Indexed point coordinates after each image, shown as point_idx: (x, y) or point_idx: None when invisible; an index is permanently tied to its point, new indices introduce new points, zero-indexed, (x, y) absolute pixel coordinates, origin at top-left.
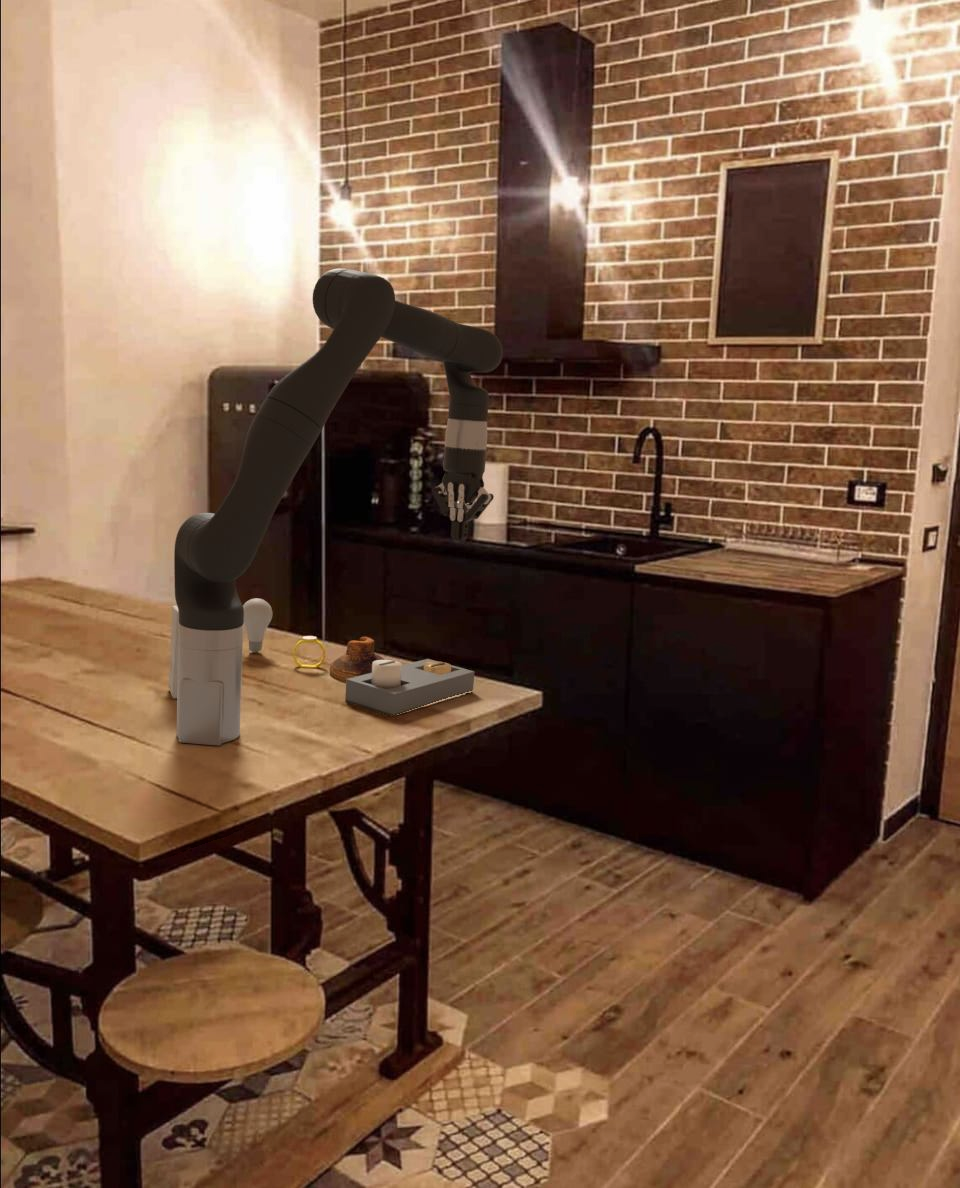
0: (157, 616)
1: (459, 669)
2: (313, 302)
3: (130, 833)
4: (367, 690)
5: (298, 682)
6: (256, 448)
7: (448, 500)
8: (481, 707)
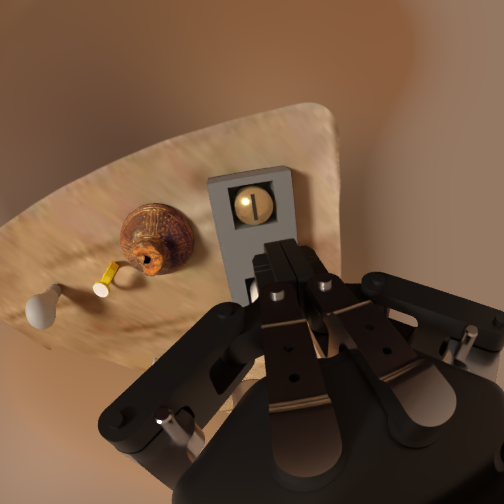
0: None
1: (271, 180)
2: None
3: None
4: None
5: (160, 305)
6: None
7: (202, 380)
8: (327, 197)
